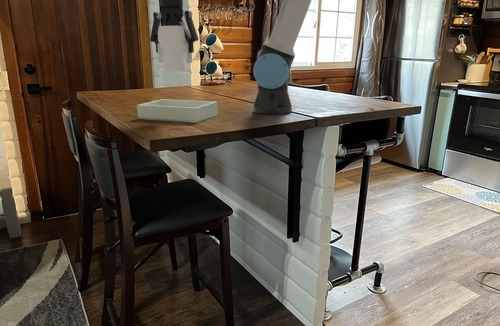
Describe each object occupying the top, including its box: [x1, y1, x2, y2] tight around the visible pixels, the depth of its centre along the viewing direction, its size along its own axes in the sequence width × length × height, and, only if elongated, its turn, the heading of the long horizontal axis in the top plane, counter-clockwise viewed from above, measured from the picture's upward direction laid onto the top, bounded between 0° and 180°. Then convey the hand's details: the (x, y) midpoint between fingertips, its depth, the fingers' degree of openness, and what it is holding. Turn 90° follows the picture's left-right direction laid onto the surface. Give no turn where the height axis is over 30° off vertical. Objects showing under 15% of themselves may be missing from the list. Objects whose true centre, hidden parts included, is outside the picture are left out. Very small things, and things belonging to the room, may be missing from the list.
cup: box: [158, 25, 189, 73], centre depth 134 cm, size 11×11×15 cm
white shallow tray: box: [136, 98, 219, 124], centre depth 140 cm, size 24×16×5 cm, turn 69°
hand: (175, 62), depth 136 cm, fingers closed on cup, 10 cm apart
